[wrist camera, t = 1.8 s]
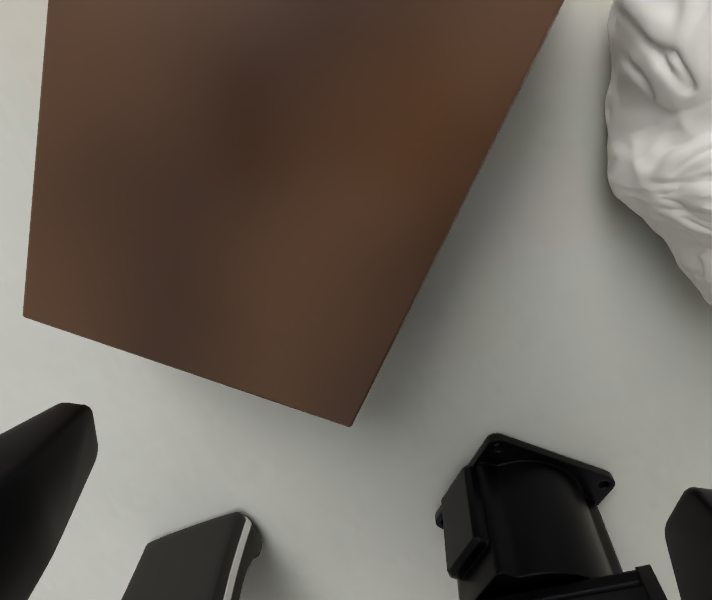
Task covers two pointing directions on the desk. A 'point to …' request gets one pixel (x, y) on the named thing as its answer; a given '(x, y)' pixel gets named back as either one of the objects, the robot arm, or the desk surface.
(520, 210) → the desk surface
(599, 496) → the robot arm
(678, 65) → the bust
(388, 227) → the walnut keepsake box
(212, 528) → the battery charger
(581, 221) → the desk surface
